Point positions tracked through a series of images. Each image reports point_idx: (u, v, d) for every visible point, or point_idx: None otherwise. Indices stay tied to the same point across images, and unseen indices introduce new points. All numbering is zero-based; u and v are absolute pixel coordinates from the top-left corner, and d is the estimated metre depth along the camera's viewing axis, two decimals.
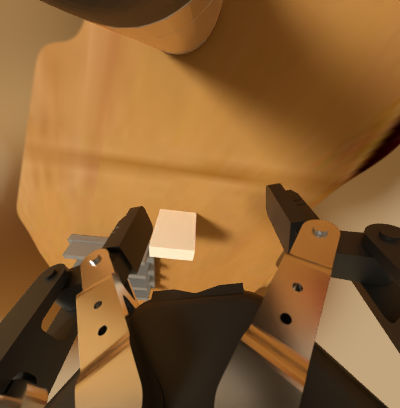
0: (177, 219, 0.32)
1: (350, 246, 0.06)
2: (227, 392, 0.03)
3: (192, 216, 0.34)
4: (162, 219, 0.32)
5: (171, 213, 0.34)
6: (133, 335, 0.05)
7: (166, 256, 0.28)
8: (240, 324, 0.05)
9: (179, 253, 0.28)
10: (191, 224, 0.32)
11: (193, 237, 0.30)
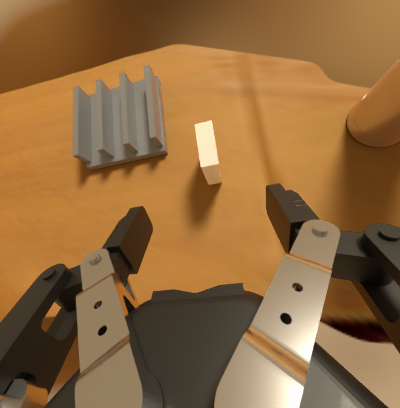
0: None
1: (350, 246, 0.06)
2: (227, 392, 0.03)
3: None
4: None
5: None
6: (133, 335, 0.05)
7: (199, 139, 0.26)
8: (240, 324, 0.05)
9: (208, 150, 0.26)
10: None
11: (219, 168, 0.28)
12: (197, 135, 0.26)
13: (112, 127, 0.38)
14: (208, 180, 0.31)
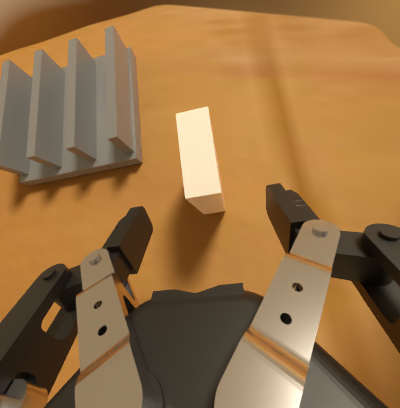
0: None
1: (350, 246, 0.06)
2: (227, 392, 0.03)
3: None
4: None
5: None
6: (133, 335, 0.05)
7: (184, 143, 0.14)
8: (240, 324, 0.05)
9: (201, 165, 0.13)
10: None
11: (222, 197, 0.15)
12: (180, 135, 0.14)
13: (61, 122, 0.26)
14: (203, 210, 0.19)
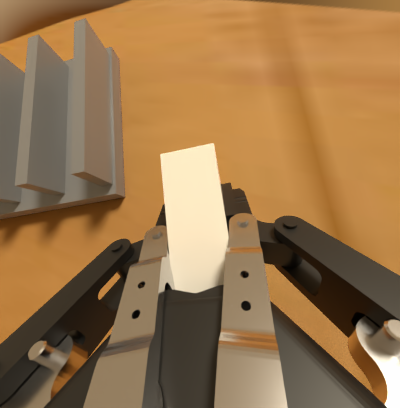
0: None
1: (265, 234, 0.08)
2: (227, 392, 0.03)
3: None
4: None
5: None
6: (158, 335, 0.05)
7: (174, 207, 0.08)
8: None
9: (204, 250, 0.07)
10: None
11: None
12: (167, 191, 0.08)
13: None
14: None
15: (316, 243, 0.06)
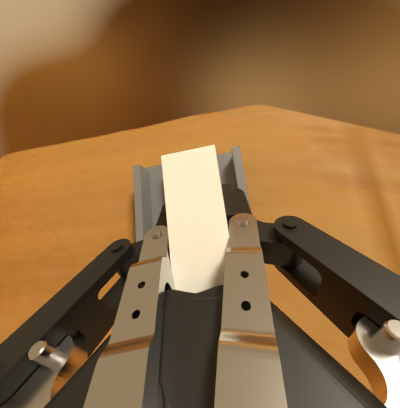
0: None
1: (265, 234, 0.08)
2: (227, 392, 0.03)
3: None
4: None
5: None
6: (158, 335, 0.05)
7: (175, 209, 0.08)
8: None
9: (205, 252, 0.07)
10: None
11: None
12: (168, 193, 0.08)
13: None
14: None
15: (316, 243, 0.06)
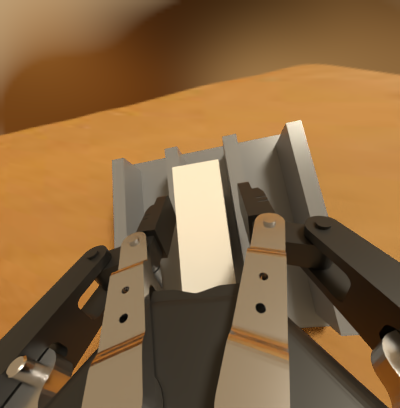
0: None
1: (294, 235, 0.07)
2: (227, 392, 0.03)
3: None
4: (224, 199, 0.15)
5: None
6: (149, 333, 0.05)
7: (184, 213, 0.09)
8: None
9: (208, 250, 0.09)
10: (233, 263, 0.14)
11: (235, 279, 0.11)
12: (178, 200, 0.10)
13: None
14: None
15: (350, 247, 0.06)
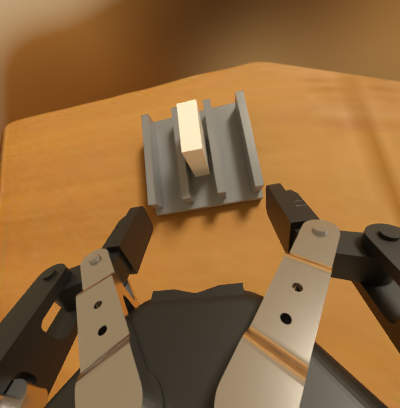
0: None
1: (350, 246, 0.06)
2: (227, 392, 0.03)
3: (208, 167, 0.29)
4: (203, 133, 0.29)
5: None
6: (133, 335, 0.05)
7: (181, 121, 0.23)
8: (240, 324, 0.05)
9: (191, 133, 0.22)
10: (207, 161, 0.27)
11: (204, 156, 0.24)
12: (179, 116, 0.23)
13: None
14: (194, 170, 0.28)
15: None
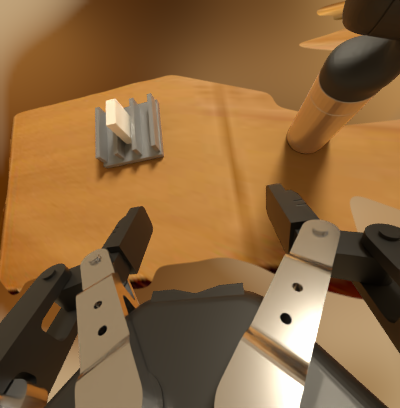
0: (130, 127, 0.50)
1: (350, 246, 0.06)
2: (227, 392, 0.03)
3: None
4: (129, 117, 0.50)
5: None
6: (133, 335, 0.05)
7: (107, 109, 0.44)
8: (240, 324, 0.05)
9: (111, 115, 0.44)
10: (128, 133, 0.49)
11: (122, 128, 0.46)
12: (106, 107, 0.44)
13: None
14: (122, 139, 0.49)
15: None
